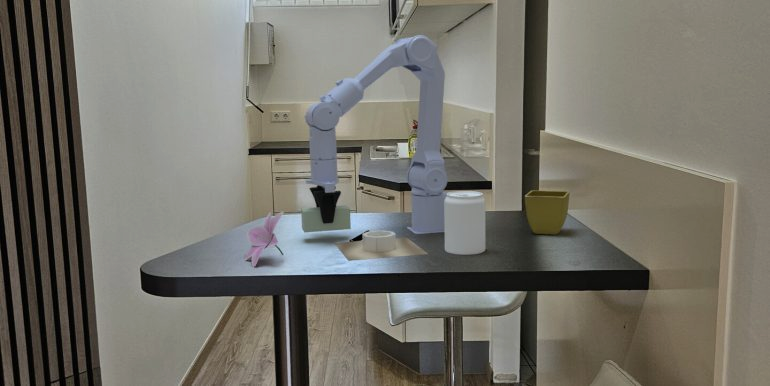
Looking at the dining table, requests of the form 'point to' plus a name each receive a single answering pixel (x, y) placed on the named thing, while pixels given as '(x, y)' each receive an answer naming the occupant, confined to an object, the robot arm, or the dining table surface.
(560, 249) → the dining table surface
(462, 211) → the beverage can
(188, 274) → the dining table surface
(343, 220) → the green rectangular block
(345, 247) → the mat
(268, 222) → the lily
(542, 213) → the flower pot
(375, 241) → the white octagonal prism
